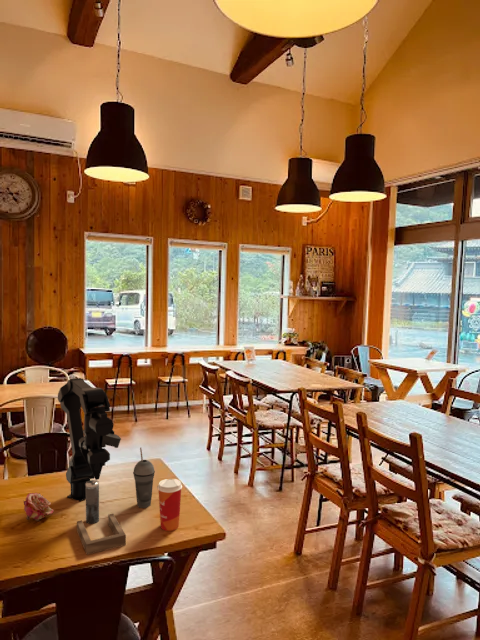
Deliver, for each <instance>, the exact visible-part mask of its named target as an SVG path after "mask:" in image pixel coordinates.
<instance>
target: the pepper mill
mask: <svg viewBox="0 0 480 640" xmlns="http://www.w3.org/2000/svg"><path fill="white" fill-rule="evenodd" d="M98 522H100V481H99V480H96V479H90V481H87V482H86V499H85V523H86V524H88V525H93V524H97V523H98Z"/></svg>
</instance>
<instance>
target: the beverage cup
mask: <svg viewBox="0 0 480 640" xmlns="http://www.w3.org/2000/svg"><path fill="white" fill-rule="evenodd" d="M139 450H140V451H139V452H140V460H139V461H138V462H136V464H135V465H134V468H133V472H132V473H133V479H134V484H135V496H136V504H137V507H138V508H139V509H140V508H141V509H145V508H146V509H147V508H149V507H150V506H151V505H152V500H153V499H152V497H153V488H154V487H153V486H154V478H155V472H156V471H155V467H154V465H153V463H152V462H151V461H150V460H147V459H144V458H143V452H142V451H143V449H142V447H140V448H139Z"/></svg>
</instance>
